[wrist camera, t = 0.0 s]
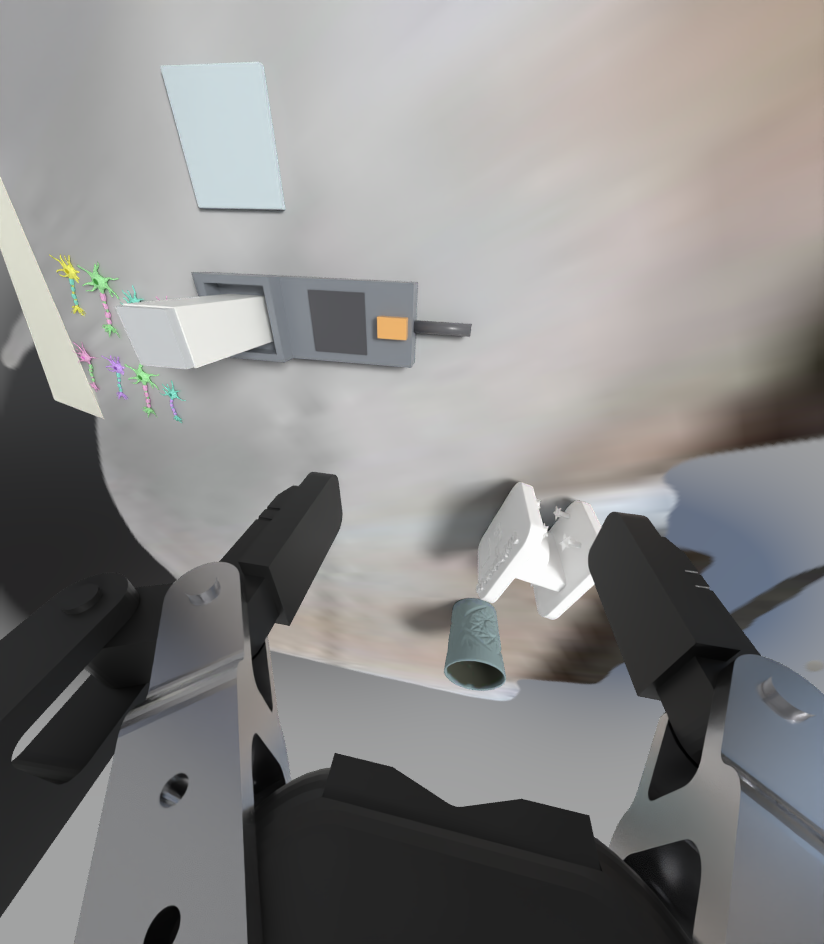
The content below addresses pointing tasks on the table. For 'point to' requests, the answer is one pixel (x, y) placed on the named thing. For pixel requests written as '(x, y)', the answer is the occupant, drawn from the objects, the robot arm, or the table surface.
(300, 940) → the robot arm
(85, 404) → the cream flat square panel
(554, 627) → the table surface
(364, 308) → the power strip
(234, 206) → the mat
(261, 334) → the block
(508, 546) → the cable organizer
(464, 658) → the teal cup
